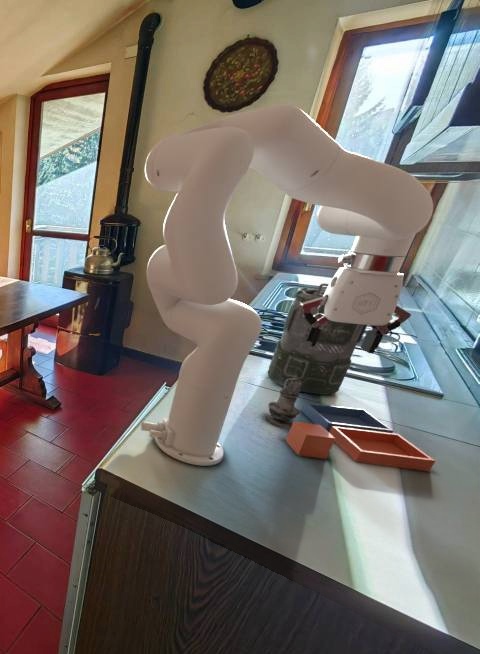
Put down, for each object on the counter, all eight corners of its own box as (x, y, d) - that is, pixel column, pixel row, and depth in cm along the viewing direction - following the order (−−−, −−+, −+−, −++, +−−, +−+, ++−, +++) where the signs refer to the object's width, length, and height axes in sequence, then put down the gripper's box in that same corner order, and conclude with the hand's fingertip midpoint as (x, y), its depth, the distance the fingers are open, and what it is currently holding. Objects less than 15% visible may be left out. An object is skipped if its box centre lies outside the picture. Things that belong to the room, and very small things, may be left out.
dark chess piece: (300, 430, 88) (319, 382, 83) (271, 426, 89) (288, 379, 84) (286, 416, 93) (303, 371, 88) (258, 413, 94) (274, 368, 89)
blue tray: (324, 432, 87) (328, 423, 86) (301, 411, 95) (305, 402, 94) (389, 440, 85) (394, 430, 84) (359, 418, 93) (364, 409, 92)
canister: (259, 381, 110) (293, 284, 99) (273, 366, 120) (306, 276, 109) (332, 403, 99) (379, 296, 88) (341, 385, 109) (385, 286, 98)
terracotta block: (298, 455, 79) (306, 434, 77) (285, 441, 84) (293, 421, 82) (326, 459, 78) (335, 438, 76) (311, 444, 83) (320, 424, 81)
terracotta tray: (355, 461, 78) (361, 451, 77) (327, 435, 86) (332, 425, 85) (429, 471, 75) (435, 461, 74) (393, 443, 84) (398, 433, 83)
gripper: (327, 263, 72) (295, 348, 79) (447, 270, 67) (402, 360, 74) (308, 257, 79) (280, 336, 85) (417, 263, 74) (378, 347, 81)
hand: (337, 347), depth 80 cm, fingers open, 9 cm apart
